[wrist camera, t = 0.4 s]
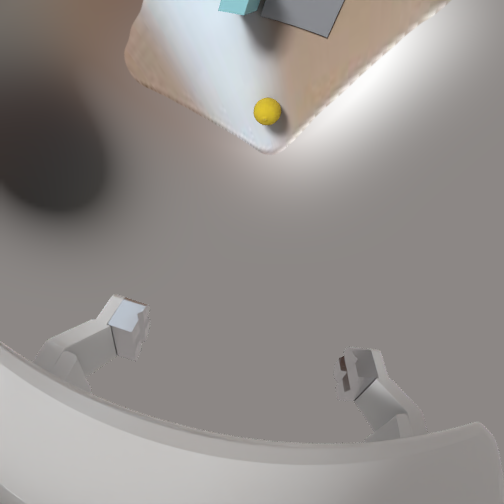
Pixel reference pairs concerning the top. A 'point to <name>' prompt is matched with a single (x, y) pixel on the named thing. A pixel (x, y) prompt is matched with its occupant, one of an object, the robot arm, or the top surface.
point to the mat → (304, 13)
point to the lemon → (267, 111)
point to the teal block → (239, 6)
